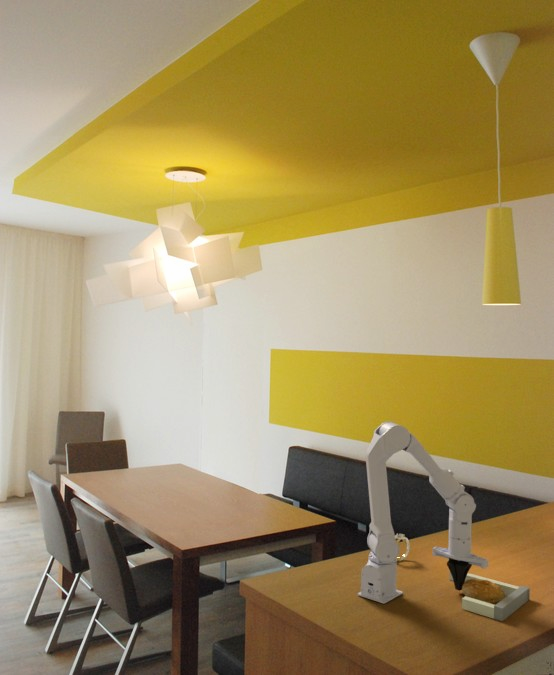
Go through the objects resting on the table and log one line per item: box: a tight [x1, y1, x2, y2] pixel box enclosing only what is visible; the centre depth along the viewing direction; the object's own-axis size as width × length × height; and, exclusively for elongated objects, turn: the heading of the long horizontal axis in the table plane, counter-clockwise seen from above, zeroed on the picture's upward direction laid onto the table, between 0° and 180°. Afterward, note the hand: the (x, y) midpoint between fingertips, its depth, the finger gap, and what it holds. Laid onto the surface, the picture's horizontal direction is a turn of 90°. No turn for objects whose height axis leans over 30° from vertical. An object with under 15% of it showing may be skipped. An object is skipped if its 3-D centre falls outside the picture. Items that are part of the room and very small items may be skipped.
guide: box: [448, 571, 531, 622], centre depth 158 cm, size 18×21×3 cm
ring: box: [395, 533, 411, 562], centre depth 185 cm, size 7×3×8 cm, turn 116°
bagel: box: [461, 579, 506, 605], centre depth 157 cm, size 10×11×5 cm
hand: (459, 589), depth 161 cm, fingers closed
